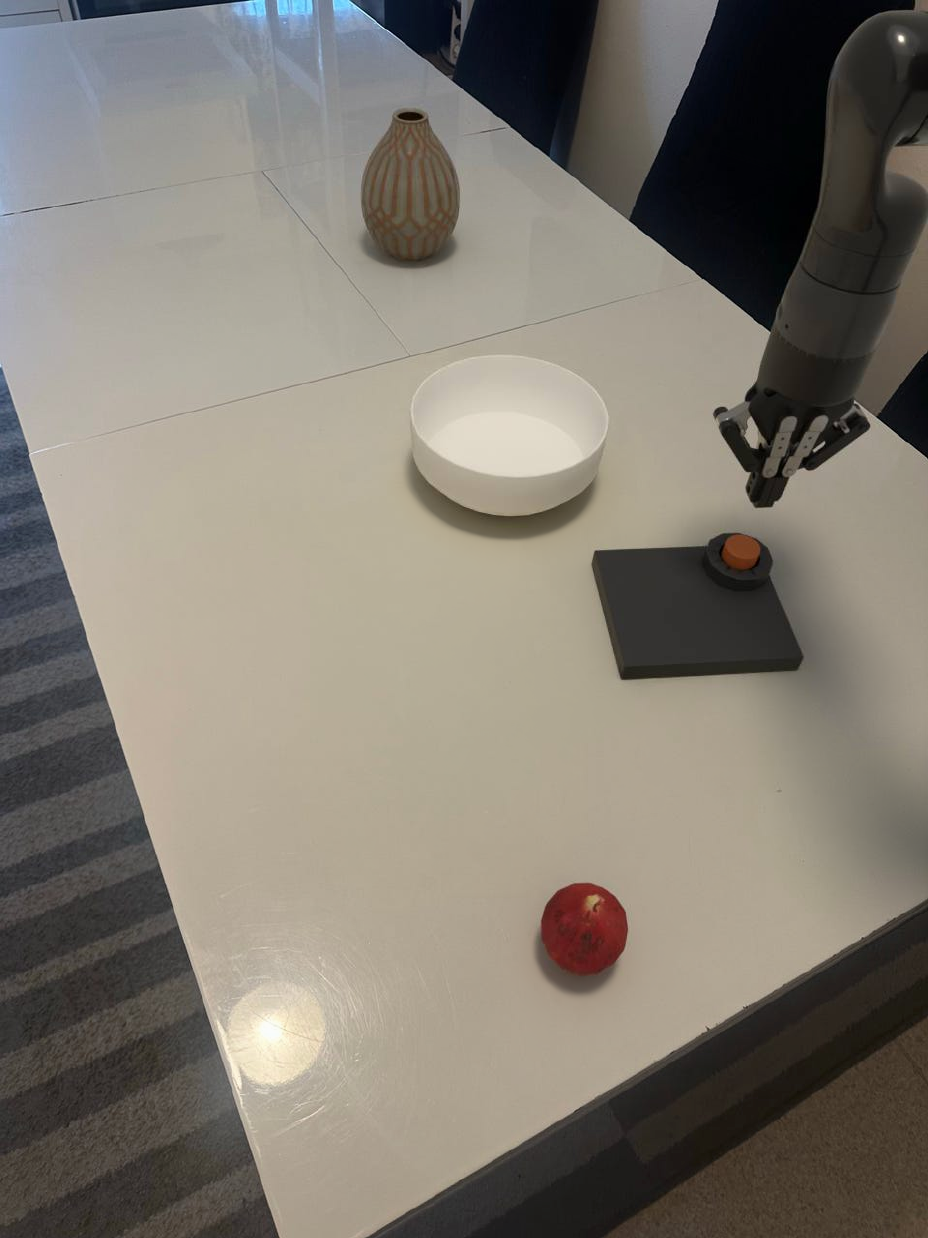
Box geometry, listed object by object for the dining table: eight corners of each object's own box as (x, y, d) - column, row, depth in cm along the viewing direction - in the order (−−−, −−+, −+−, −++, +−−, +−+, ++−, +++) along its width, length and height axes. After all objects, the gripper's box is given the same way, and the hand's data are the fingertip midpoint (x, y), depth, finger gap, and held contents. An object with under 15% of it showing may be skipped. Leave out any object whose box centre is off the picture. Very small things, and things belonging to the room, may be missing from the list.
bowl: (513, 573, 88) (521, 508, 81) (371, 476, 96) (367, 410, 89) (633, 477, 97) (649, 412, 91) (494, 397, 106) (500, 332, 99)
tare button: (750, 545, 87) (754, 533, 86) (760, 569, 85) (765, 558, 84) (717, 546, 87) (721, 534, 86) (726, 571, 85) (731, 559, 84)
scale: (751, 556, 90) (761, 531, 88) (797, 670, 81) (810, 645, 79) (591, 563, 89) (596, 537, 86) (620, 679, 80) (628, 655, 77)
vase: (343, 252, 125) (335, 116, 112) (401, 217, 133) (400, 85, 119) (420, 284, 121) (421, 146, 108) (476, 245, 128) (483, 112, 115)
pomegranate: (607, 1003, 62) (628, 960, 56) (525, 974, 63) (537, 929, 57) (625, 924, 66) (647, 875, 60) (548, 898, 67) (561, 847, 61)
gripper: (756, 356, 64) (697, 534, 77) (935, 353, 65) (847, 528, 79) (726, 299, 69) (676, 475, 82) (893, 296, 70) (817, 471, 84)
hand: (760, 501), depth 80 cm, fingers closed
